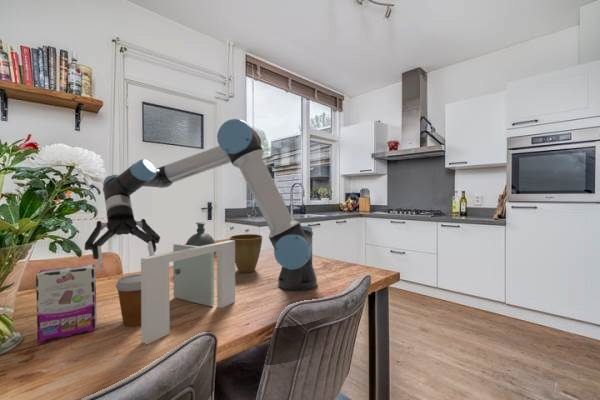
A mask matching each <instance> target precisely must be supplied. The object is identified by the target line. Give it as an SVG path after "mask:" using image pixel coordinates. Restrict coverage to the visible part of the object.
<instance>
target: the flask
mask: <svg viewBox="0 0 600 400" xmlns="http://www.w3.org/2000/svg"><path fill="white" fill-rule="evenodd" d="M195 224H196V225H197V228H196V232H197V233H195V234H192V235H191V236H190V237H189V238H188V239H187V241H186V243H185V245H191V246H205V245H210V244H215V243H216V242H215V239H214V238H213V237H212V235H211V234H209V233H206V232H205V231H206V229H205V225H206V222H202V221H201V222H195ZM216 255H217V251H216V252H214V258H215V256H216Z"/></svg>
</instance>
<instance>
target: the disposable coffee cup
mask: <svg viewBox="0 0 600 400" xmlns="http://www.w3.org/2000/svg"><path fill="white" fill-rule="evenodd" d="M115 288H116V290H117V293H118V299H119V304H120V305H119V306H120V313H121V319H122V325H123V326H125V327H137V326H141V273H136V274H130V275H126V276H124V277H121V278H119V279H117V282H116V284H115Z"/></svg>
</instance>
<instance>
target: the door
mask: <svg viewBox="0 0 600 400" xmlns="http://www.w3.org/2000/svg"><path fill="white" fill-rule="evenodd" d="M194 247H200V246H191V245H186V244H182V243H174V244H173V248H172V249H173V250H172V252H174V251H179V250H184V249H189V248H194ZM172 264H173V298H175V299H178V300H179V299H180V300H182V301H188V302H191V303H195V304H199V305H204V306H208V307H213V306H214V305H215V294H214V293H215V257H214V252H211V253H207V254H203V255H198V256H194V257H190V258H186V259H181V260H177V261H173V263H172Z"/></svg>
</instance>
